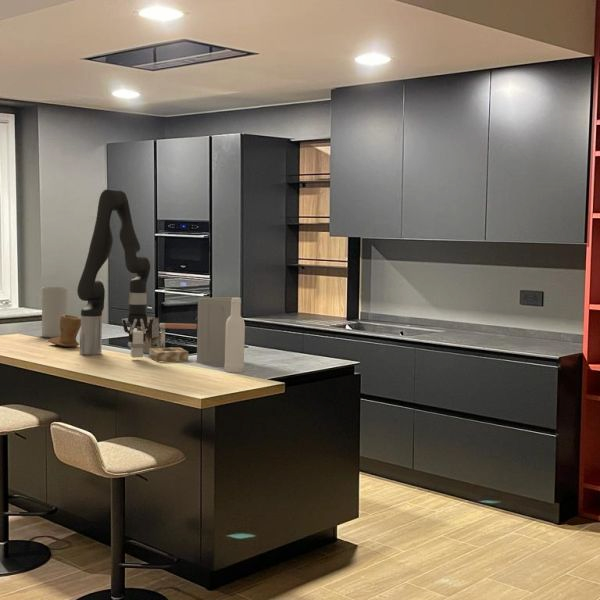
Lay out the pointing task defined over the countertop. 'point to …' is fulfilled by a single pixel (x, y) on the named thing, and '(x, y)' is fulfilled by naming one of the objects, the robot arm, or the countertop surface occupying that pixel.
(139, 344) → the plug
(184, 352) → the socket block
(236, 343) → the bottle
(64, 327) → the brown boot-shaped piece
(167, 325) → the bar
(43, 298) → the cylinder vase
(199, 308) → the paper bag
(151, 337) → the coffee box
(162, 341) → the clip post
